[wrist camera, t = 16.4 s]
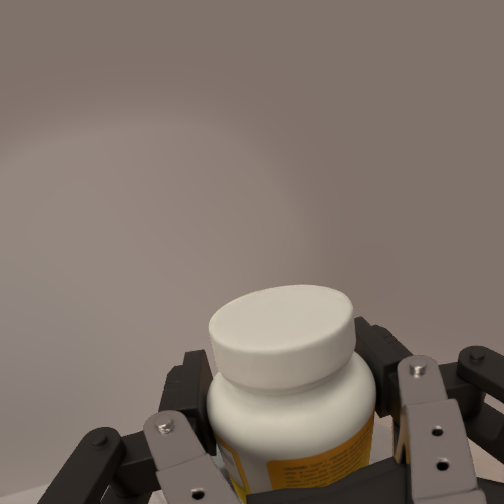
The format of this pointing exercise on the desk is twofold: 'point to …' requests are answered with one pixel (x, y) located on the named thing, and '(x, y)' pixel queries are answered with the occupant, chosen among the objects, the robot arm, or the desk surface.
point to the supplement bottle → (289, 390)
